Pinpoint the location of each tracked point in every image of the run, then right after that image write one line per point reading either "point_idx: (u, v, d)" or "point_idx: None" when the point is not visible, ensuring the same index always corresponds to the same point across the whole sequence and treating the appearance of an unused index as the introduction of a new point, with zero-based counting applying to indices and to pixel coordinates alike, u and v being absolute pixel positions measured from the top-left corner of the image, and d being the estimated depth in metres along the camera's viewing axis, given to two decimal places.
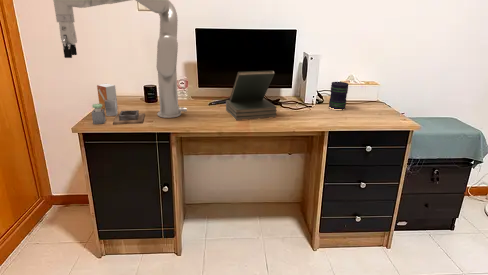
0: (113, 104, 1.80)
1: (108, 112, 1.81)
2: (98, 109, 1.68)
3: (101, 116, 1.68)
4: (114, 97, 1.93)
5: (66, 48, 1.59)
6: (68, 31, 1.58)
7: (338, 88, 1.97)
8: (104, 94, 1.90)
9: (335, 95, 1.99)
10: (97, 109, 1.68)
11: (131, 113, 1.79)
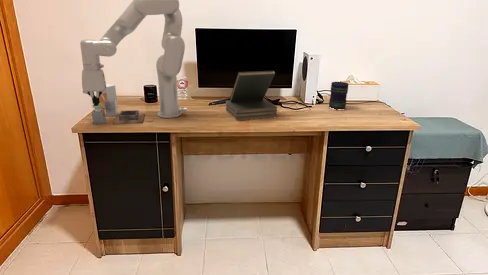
0: (113, 104, 1.80)
1: (108, 112, 1.81)
2: (98, 109, 1.68)
3: (101, 116, 1.68)
4: (114, 97, 1.93)
5: None
6: (104, 77, 1.66)
7: (338, 88, 1.97)
8: (104, 94, 1.90)
9: (335, 95, 1.99)
10: (97, 109, 1.68)
11: (131, 113, 1.79)
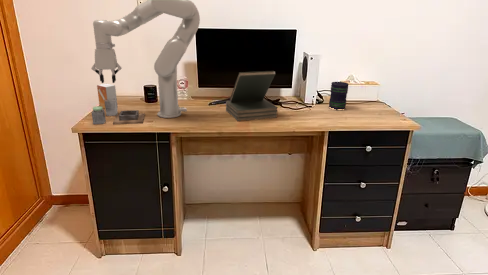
0: (113, 104, 1.80)
1: (108, 112, 1.81)
2: None
3: (101, 116, 1.68)
4: (114, 97, 1.93)
5: (115, 73, 1.77)
6: None
7: (338, 88, 1.97)
8: (104, 94, 1.90)
9: (335, 95, 1.99)
10: None
11: (131, 113, 1.79)
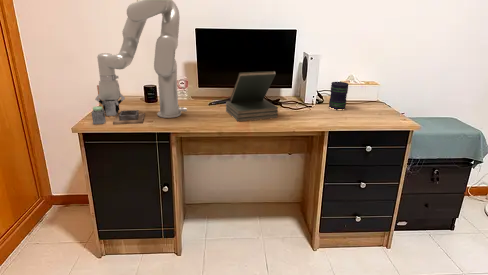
0: (113, 104, 1.80)
1: (108, 112, 1.81)
2: None
3: (101, 116, 1.68)
4: None
5: (119, 103, 1.83)
6: None
7: (338, 88, 1.97)
8: None
9: (335, 95, 1.99)
10: None
11: (131, 113, 1.79)
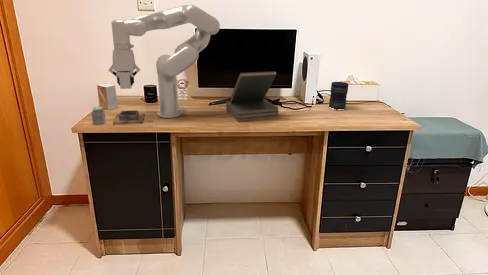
0: (128, 76, 1.66)
1: (122, 85, 1.67)
2: None
3: (101, 116, 1.68)
4: (114, 97, 1.93)
5: (134, 75, 1.70)
6: None
7: (338, 88, 1.97)
8: (104, 94, 1.90)
9: (335, 95, 1.99)
10: None
11: (131, 113, 1.79)
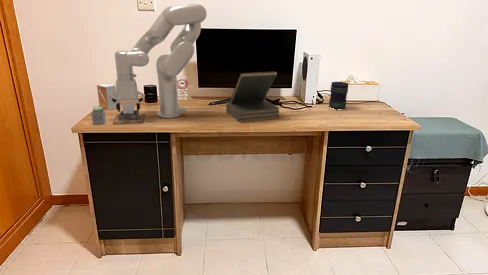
0: (131, 107, 1.72)
1: None
2: None
3: (101, 116, 1.68)
4: (114, 97, 1.93)
5: None
6: (136, 86, 1.73)
7: (338, 88, 1.97)
8: (104, 94, 1.90)
9: (335, 95, 1.99)
10: None
11: None
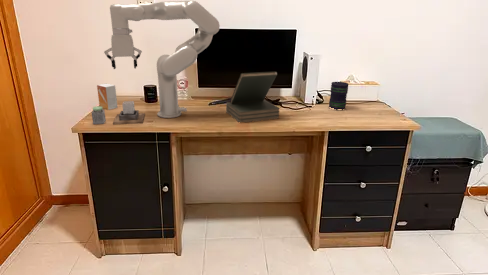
0: (131, 107, 1.72)
1: None
2: None
3: (101, 116, 1.68)
4: (114, 97, 1.93)
5: (137, 58, 1.70)
6: None
7: (338, 88, 1.97)
8: (104, 94, 1.90)
9: (335, 95, 1.99)
10: None
11: None
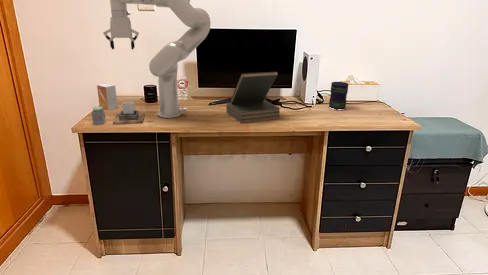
0: (131, 107, 1.72)
1: None
2: None
3: (101, 116, 1.68)
4: (114, 97, 1.93)
5: (134, 40, 1.79)
6: (130, 25, 1.77)
7: (338, 88, 1.97)
8: (104, 94, 1.90)
9: (335, 95, 1.99)
10: None
11: None
